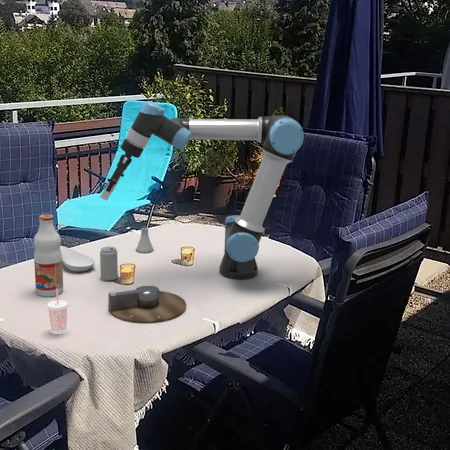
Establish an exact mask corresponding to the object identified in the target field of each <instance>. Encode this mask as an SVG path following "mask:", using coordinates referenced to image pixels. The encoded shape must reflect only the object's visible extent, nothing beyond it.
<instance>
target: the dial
mask: <svg viewBox="0 0 450 450" xmlns="http://www.w3.org/2000/svg"><path fill="white" fill-rule="evenodd" d="M159 291H160V288H159V287H157V286H154V285H142V286H139V287H137V288H136V289H131V290H126V291H124V290H123V291H119V292H115V291H114V290H113V291H108V296H107V297H108V305H109V309H110V310H117V309H124V308H131V307H140V308H154V307H157V306H158V305H159ZM109 309H108V310H109Z"/></svg>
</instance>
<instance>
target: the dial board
mask: <svg viewBox="0 0 450 450" xmlns="http://www.w3.org/2000/svg"><path fill="white" fill-rule="evenodd" d="M107 307H108V309H107V310H108V312H109V313H110V315H111V316H113V317H114V318H116V319H118V320H120V321H124V322H128V323H134V324H156V323H162V322H168V321H172V320H174V319H176V318H178V317H180V316H181V315H183V314H185V311H186V310H187V302H186V301H185V299H184V298H183V297H181V296H179V295H178V294H175V293H172V292H169V291H163V290H159V305H158V306H157V307H154V308H140V307H131V308H124V309H117V310H110V309H109V304H108V306H107Z"/></svg>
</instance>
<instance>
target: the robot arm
mask: <svg viewBox="0 0 450 450" xmlns="http://www.w3.org/2000/svg"><path fill="white" fill-rule="evenodd" d="M165 112H166V111H165V109H164V108H163V107H162V106H160V105H158V104H157V103H155V102H153V101H151V100H147V101H145V102H144V104H143V106H142V107H141V109H140V110H139V112H138V114H137V115H136V118H135V119H134V121H133V124H132V126H131V127H130V128H128V129H127V132H128V133H127V134H126V137H125V138H124V140H123V141H122V144H121V145H120V149H121V150H122V151H123V152H125V153H124V154H122V155H120V157H119V161H118V162H117V164H116V168H115V170H114V171H113V172H112V173H113V174H112V175H111V177H110V178H107V179H106V180H107V181H106V182H107V184H106V185H105V187H104V190H103V191H102V192H101V194H100V196H99V198H101V199H103V200H105V201H106V202H107V201H108V200H109V198H110V196H111V194H112V193H114V191H115V189H116V187H117V186H118V184H119V181H120V180H121V179H122V178H124V176H125V174H124V173H125V171H126V170H127V168H128V167H129V166H130V164H131V163H132V161H133V159H132V158H136V159H138V158H141V155H142V153H143V152H144V148H146V147H147V145H148V144H149V141H150V140H151V137H152V135H154V136H155V137H157V138H159V139H160V140H162V141H164V142H165V143H167V144H169V145H171V146H172V147H173V148H175V149H178V150H181V151H182V150H184V149H185V147H186V145H187V144H188V142H189V140H211V141H212V140H213V141H214V140H215V141H216V140H219V141H220V140H221V141H222V140H223V141H226V140H227V141H258V143H259V144H260V143H261V144H263V146H262V148H261V150H262V153H263V157H262V160H261V162H260V164H259V168H258V171H257V173H256V175H255V177H254V180H253V183H252V184H251V188H250V189H249V193H248V194H247V198H246V200H245V202H244V205H243V208H242V211H241V213H240V215H237V214H236V215H228V216H226V218H225V220H224V221H225V222H224V251H223V252H224V253H223V256H222V259H221V261H220V265H219V268H218V269H219V274H220V275H221V276H222V277H224V278H229V279H232V280H233V279H234V280H246V279H253V278H254V277H256V276H257V275H258V274H259V272H258V271H259V268H258V263H257V260H256V256H257V255H258V252H259V248H260V242H261V239H262V236H263V235H264V231H265V229H264V227H263V223H264V221H265V218H266V216H267V213H268V211H269V208H270V206H271V203H272V201H273V199H274V196H275V194H276V191H277V189H278V187H279V183H280V181H281V179H282V176H283V174H284V171H285V169H286V167H287V165H288V164H290V163H292V162H293V161H294V159H295V156H296V153H297V152H298V150H299V149H300V148H301V147H302V145H303V143H304V139H305V137H304V134H305V133H304V130H303V127H302V126H301V124H300V123H299V122H298V121H297V120H295V119H293V117H291V116H288V115H282V114H281V115H273V116H272V115H271V116H259V117H258V118H257V119H250V118H249V119H247V118H246V119H243V118H241V119H239V118H238V119H237V118H236V119H235V118H234V119H233V118H231V119H229V118H225V119H224V118H218V119H217V118H213V119H212V118H189V119H188V118H179V117H173V118H168V117H167V116H166V115H165Z"/></svg>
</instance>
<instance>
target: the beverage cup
mask: <svg viewBox="0 0 450 450" xmlns="http://www.w3.org/2000/svg"><path fill="white" fill-rule="evenodd" d="M55 297H56V300H52V301H49V302H48V303H46V305H47V309H48V316H49V325H50V326H49V327H50V333H51V334H53V335H62V334H65V333H66V332H67V328H68V327H67V325H68V324H67V323H68V320H67V319H68V318H67V317H68V307H69V302H68V301H67V300H65V299H64V300H63V299H62V300H61V299H59V295H58V288H56V296H55Z"/></svg>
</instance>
